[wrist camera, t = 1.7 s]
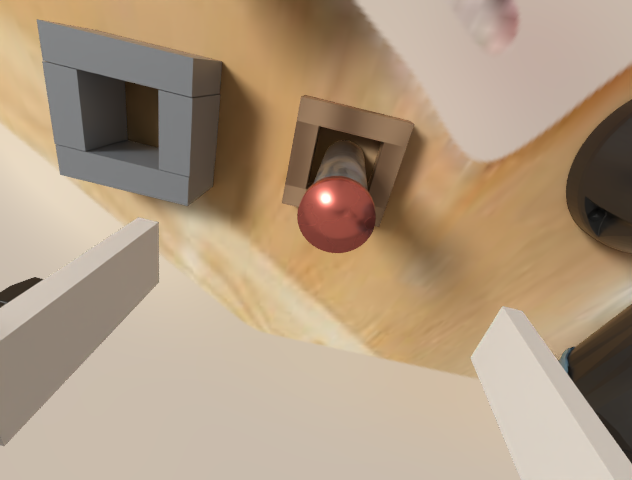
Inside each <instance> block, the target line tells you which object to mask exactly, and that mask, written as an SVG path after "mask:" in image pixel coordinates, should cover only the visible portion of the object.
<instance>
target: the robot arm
mask: <svg viewBox="0 0 632 480" xmlns="http://www.w3.org/2000/svg"><path fill="white" fill-rule="evenodd" d="M566 198H567V204H568V208H569V211H570V213H571V216H572V217H573V219H574V221H575V222H576V223H577V225H578V226H579V227H580V228H581V229H582V230H584V231H585V232H586V233H588V234H589V235H591V236H592V237H594V238H595V239H597V240H598V241H600V242H601V243H603V244H605V245H607V246H609V247H611V248H614V249H616V250H619V251H623V252H627V253H631V254H632V100H630V101H628V102H627V103H625V104H624V105H622V106H621V107H620V108H618V109H617V110H615V111H614V112H613V113H612V114H610V115H609V116H608V117H607V118H606V119H605V120H604V121H603V122H601V123H600V124H599V125H598V126H597V128H596V129H595V130H594V131H593V132H592V133H591V134H590V136H589V137H588V138H587V139H586V141H585V142H584V144H583V145H582V147H581V148H580V150H579V151H578V153H577V155H576V157H575V159H574V161H573V163H572V166H571V169H570V172H569V175H568V180H567V186H566ZM158 283H159V222H156V221H152V220H148V219H143V218H139V217H138V218H136V219H135V220H133V221H132V222H130V223H129V224H127V225H126V226H124V227H123V228H122V229H120V230H118V231H117V232H115V233H114V234H112V235H110V236H109V237H107V238H106V239H104V240H103V241H101V242H100V243H99V244H97V245H95V246H94V247H92V248H91V249H89V250H88V251H86V252H85V253H83V254H82V255H80V256H79V257H77V258H75V259H74V260H72V261H71V262H69V263H68V264H66V265H65V266H63V267H62V268H60V269H59V270H57V271H56V272H54V273H53V274H51V275H50V276H48V277H47V278H45V279H40V278H36V277H34V278H31V279H28V280H25V281H23V282H20V283H17V284H14V285H12V286H10V287H8V288H6V289H5V290H3V291H2V292H0V445H2V446H5V445H6V444H7V443H8V442H9V441H10V440H11V438H12V437H13V436H14V435H15V434H16V433H17V432H18V431H19V430H20V429H21V428H22V427H23V426H24V425H25V424H26V423H27V421H28V420H29V419H30V418H31V417H32V416H33V415H34V414H35V413H36V412H37V411H38V410H39V408H41V406H43V405H44V403H45V402H46V401H47V400H48V399H49V398H50V397H51V396H52V395H53V394H54V393H55V392H56V391H57V390H58V389H59V388H60V386H61V385H62V384H63V383H64V382H65V381H66V380H67V379H68V378H69V377H70V376H71V375H72V374H73V373H74V372H75V371H76V370H77V368H78V367H79V366H80V365H81V364H82V363H83V362H84V361H85V360H86V359H87V358H88V357H89V356H90V355H91V353H93V352H94V350H95V349H96V348H97V347H98V346H99V345H100V344H101V343H102V342H103V341H104V340H105V339H106V338H107V337H108V336H109V335H110V334H111V332H112V331H113V330H114V329H115V328H116V327H117V326H118V325H119V324H120V323H121V322H122V321H123V320H124V319H125V318H126V317H127V315H128V314H129V313H130V312H131V311H132V310H133V309H134V308H135V307H136V306H137V305H138V304H139V303H140V302H141V301H142V300H143V299H144V297H145V296H146V295H147V294H148V293H149V292H150V291H151V290H152V289H153V288H154V287H155V286H156V285H157V284H158ZM471 360H472V363H473V365H474V368H475V370H476V373H477V375H478V377H479V380H480V382H481V385H482V387H483V389H484V392H485V394H486V396H487V399H488V402H489V404H490V406H491V409H492V411H493V414H494V416H495V418H496V421H497V423H498V426H499V428H500V430H501V433H502V435H503V438H504V440H505V443H506V445H507V447H508V450H509V452H510V455H511V457H512V459H513V462H514V464H515V467H516V469H517V471H518V474H519V476H520V479H521V480H632V304H631V305H630V306H629V307H627V308H626V309H625V310H623V311H622V312H621V313H619V314H618V315H617V316H616V317H614V318H613V319H612V320H610V321H609V322H608V323H606V324H605V325H604V326H602V327H601V328H600V329H598V330H597V331H596V332H595V333H593V334H592V335H591V336H589V337H588V338H587V339H585V340H584V341H583V342H581V343H580V344H579V345H577V346H576V347H572V348H568V349H567V350H565V351H564V353H563V354H562V357H561V359H560V360H557V359H556V357H555V356H554V355H553V353H552V352H551V350H550V349H549V348H548V346H547V345H546V343H545V342H544V341H543V339H542V338H541V336H540V335H539V334H538V332H537V331H536V330H535V328H534V327H533V325H532V324H531V323H530V321H529V320H528V318H527V317H526V316H525V314H524V313H523V311H520V310H516V309H512V308H508V307H504V306H502V307H501V309H500V311H499V312H498V314H497V315H496V317H495V319H494V320H493V322H492V324H491V325H490V327H489V328H488V330H487V332H486V333H485V335H484V337H483V338H482V340H481V341H480V343H479V345H478V346H477V348H476V349H475V351H474V353H473V354H472V356H471Z"/></svg>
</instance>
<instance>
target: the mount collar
mask: <svg viewBox="0 0 632 480" xmlns="http://www.w3.org/2000/svg"><path fill="white" fill-rule="evenodd" d="M320 127H325V128H329V129H333V130H337V131H341V132H345V133H349V134H353V135H357V136H361V137H365V138H369V139H373V140H378V141H381V144H380V147H379V150H378V154H377V157H376V160H375V163H374V167H373V170H372V173H371V177H370V180H369V183H368V186H367V189H368V192H369V193H370V195H371V197H372V199H373V202H374V207H375V214H376V220H375V226H377V227H379V226H380V223H381V220H382V217H383V214H384V211H385V208H386V205H387V203H388V200H389V197H390V194H391V191H392V188H393V185H394V182H395V179H396V176H397V173H398V171H399V168H400V165H401V162H402V159H403V156H404V153H405V150H406V147H407V144H408V141H409V138H410V136H411V133H412V130H413V127H414V124H413V123H412V122H411V121H408V120H404V119H400V118H396V117H392V116H388V115H384V114H380V113H376V112H372V111H367V110H363V109H359V108H355V107H351V106H347V105H343V104H339V103H335V102H331V101H327V100H323V99H319V98H315V97H311V96H307V95H304V96H301V101H300V106H299V112H298V117H297V123H296V128H295V134H294V139H293V145H292V150H291V156H290V161H289V167H288V172H287V178H286V183H285V189H284V194H283V200H282V203H283V204H287V205H292V206H296V207H299V205H300V202H301V200H302V198H303V196H304V194H305V192H306V191H307V189H308V188H309V187H310V186H311V185H312V184H313V183H311V182H309V178H310V173H311V168H312V164H313V159H314V154H315V150H316V145H317V140H318V136H319V131H320Z"/></svg>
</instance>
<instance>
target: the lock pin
mask: <svg viewBox="0 0 632 480" xmlns="http://www.w3.org/2000/svg"><path fill="white" fill-rule="evenodd" d="M297 216H298V224H299V228H300V230H301V232H302V234H303V236H304V237H305V238H306V239H307V241H308V242H310V243H311V244H312V245H313V246H315V247H316V248H318V249H320V250H323V251H326V252H331V253H343V252H348V251H351V250H354V249H356V248H358V247H359V246H361V245H362V244H363V243H365V242H366V241H367V239H368V238H369V237H370V235H371V234H372V232H373V229H374V226H375V220H376V214H375V207H374V202H373V199H372V197H371V195H370V193H369V192H368V189H367V180H366V171H365V161H364V155H363V152H362V150H361V148H360V147H359V146H358V145H357V144H356V143H354V142H352V141H349V140H340V141H337V142H335V143H333V144H331V145H330V146H329V148H328V149H327V151H326V153H325V155H324V158H323V160H322V163H321V165H320V168H319V170H318V173H317V175H316V178H315V181H314V183H313V184H312V185H311V186H310V187H309V188H308V189H307V191H306V192H305V194H304V196H303V198H302V200H301V202H300V205H299V208H298V214H297Z"/></svg>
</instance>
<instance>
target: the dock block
mask: <svg viewBox="0 0 632 480" xmlns="http://www.w3.org/2000/svg"><path fill="white" fill-rule="evenodd" d="M37 24H38V31H39V38H40V44H41V51H42V57H43V61H42V62H43V69H44V76H45V82H46V89H47V95H48V102H49V109H50V115H51V122H52V128H53V135H54V142H55V144H56V150H57V157H58V164H59V170H60V175H64V176H68V177H72V178H76V179H80V180H84V181H88V182H92V183H96V184H100V185H105V186H109V187H113V188H117V189H121V190H125V191H129V192H133V193H137V194H141V195H145V196H149V197H153V198H157V199H161V200H165V201H169V202H174V203H178V204H182V205H186V206H188V205H189V204H191V203H192V202H193V201H195V200H196V199H197V198H199V197H200V196H201V195H202V194H204V193H205V192H206V191H208V190H209V189H210V188H211V187H213V178H214V165H215V160H216V146H217V133H218V120H219V107H220V85H221V71H222V61H218V60H214V59H210V58H206V57H202V56H198V55H194V54H190V53H186V52H182V51H178V50H174V49H170V48H166V47H162V46H158V45H154V44H150V43H146V42H142V41H138V40H134V39H130V38H126V37H122V36H118V35H113V34H109V33H105V32H101V31H97V30H93V29H88V28H82V27H76V26H71V25H65V24H60V23H54V22H49V21H43V20H37ZM125 81H128V82H132V83H136V84H140V85H144V86H148V87H152V88H156V89H160V90H158V100H159V148H157V147H153V146H149V145H145V144H141V143H137V142H133V141H129V140H128V135H127V115H126V94H125Z"/></svg>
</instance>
